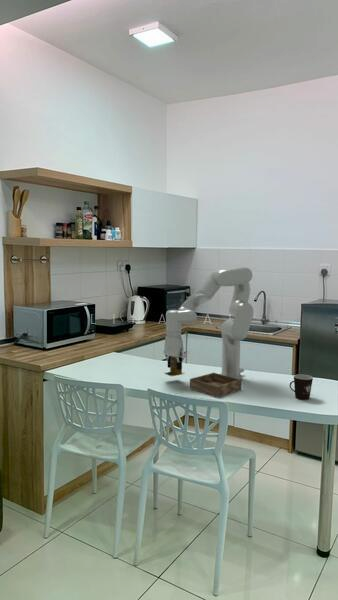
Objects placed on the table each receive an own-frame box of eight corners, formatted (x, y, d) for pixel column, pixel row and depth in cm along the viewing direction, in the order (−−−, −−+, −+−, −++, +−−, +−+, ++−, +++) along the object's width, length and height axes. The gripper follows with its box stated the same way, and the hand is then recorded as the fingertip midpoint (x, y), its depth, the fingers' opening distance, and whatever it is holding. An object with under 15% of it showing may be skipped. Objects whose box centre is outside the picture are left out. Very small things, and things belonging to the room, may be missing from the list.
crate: (213, 381, 238) (213, 372, 237) (241, 389, 225) (241, 379, 225) (189, 388, 226) (189, 379, 225) (217, 397, 213) (218, 387, 212)
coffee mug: (308, 394, 218) (309, 374, 217) (314, 400, 209) (315, 379, 208) (284, 394, 218) (285, 374, 217) (289, 400, 209) (290, 379, 208)
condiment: (185, 373, 236) (184, 351, 235) (171, 376, 232) (171, 353, 230) (177, 370, 242) (176, 348, 241) (163, 373, 238) (163, 351, 236)
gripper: (157, 333, 238) (158, 366, 240) (180, 337, 226) (181, 372, 228) (167, 331, 243) (168, 364, 245) (191, 335, 231) (191, 369, 233)
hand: (174, 367), depth 236 cm, fingers closed on condiment, 6 cm apart
